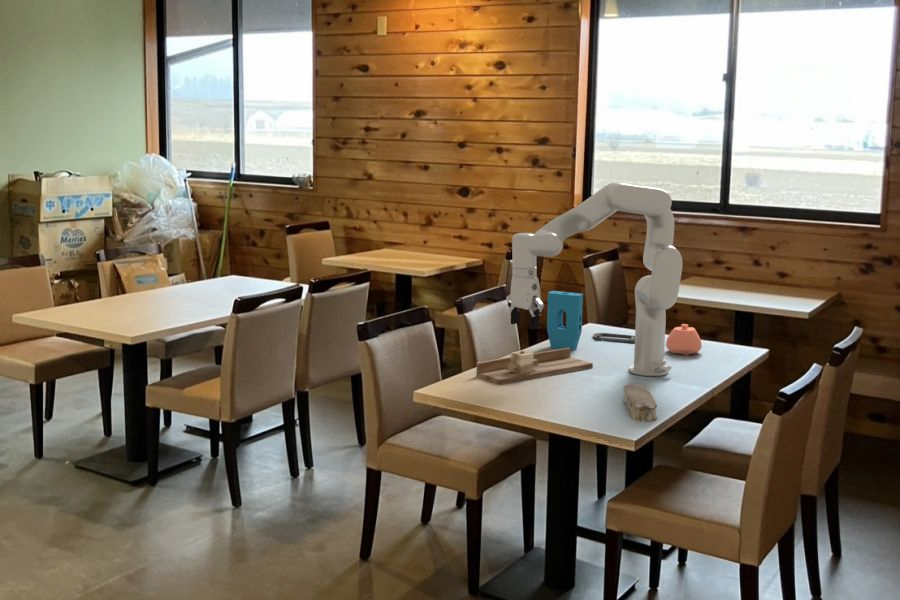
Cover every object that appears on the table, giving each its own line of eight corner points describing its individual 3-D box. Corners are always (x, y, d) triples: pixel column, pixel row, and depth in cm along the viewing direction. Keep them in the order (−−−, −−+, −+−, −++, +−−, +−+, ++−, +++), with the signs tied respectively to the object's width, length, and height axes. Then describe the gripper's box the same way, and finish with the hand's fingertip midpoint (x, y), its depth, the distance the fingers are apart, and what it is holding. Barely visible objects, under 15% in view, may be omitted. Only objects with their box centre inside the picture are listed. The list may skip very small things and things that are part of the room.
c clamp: (649, 340, 369) (650, 333, 369) (637, 349, 354) (638, 341, 353) (598, 334, 378) (598, 327, 377) (584, 343, 362) (584, 336, 362)
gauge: (541, 370, 313) (542, 350, 312) (512, 375, 306) (512, 355, 305) (531, 367, 317) (531, 347, 316) (502, 372, 310) (502, 352, 309)
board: (592, 367, 323) (593, 354, 323) (499, 384, 301) (499, 370, 300) (568, 360, 333) (568, 347, 332) (476, 376, 311) (476, 362, 310)
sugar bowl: (659, 352, 346) (660, 324, 344) (678, 346, 356) (680, 319, 355) (690, 358, 338) (691, 329, 336) (709, 351, 348) (711, 323, 347)
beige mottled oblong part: (660, 423, 264) (661, 405, 264) (633, 422, 265) (633, 405, 264) (645, 398, 288) (646, 382, 287) (620, 398, 288) (620, 382, 287)
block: (545, 347, 353) (547, 292, 349) (551, 344, 357) (553, 290, 354) (576, 351, 347) (578, 296, 343) (581, 348, 351) (583, 294, 347)
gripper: (551, 274, 301) (551, 328, 304) (516, 268, 315) (516, 320, 318) (533, 277, 297) (533, 332, 300) (498, 270, 311) (498, 323, 314)
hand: (524, 326), depth 309 cm, fingers open, 9 cm apart
